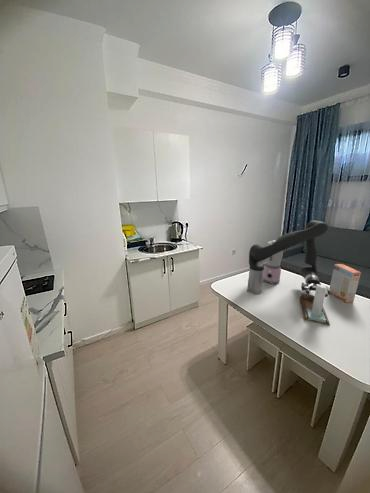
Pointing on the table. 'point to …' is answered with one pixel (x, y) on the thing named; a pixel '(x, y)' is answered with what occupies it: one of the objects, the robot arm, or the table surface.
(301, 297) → the rail board
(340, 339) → the table surface
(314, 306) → the keeper
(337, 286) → the cracker box
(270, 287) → the table surface
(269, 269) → the blender
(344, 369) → the table surface
